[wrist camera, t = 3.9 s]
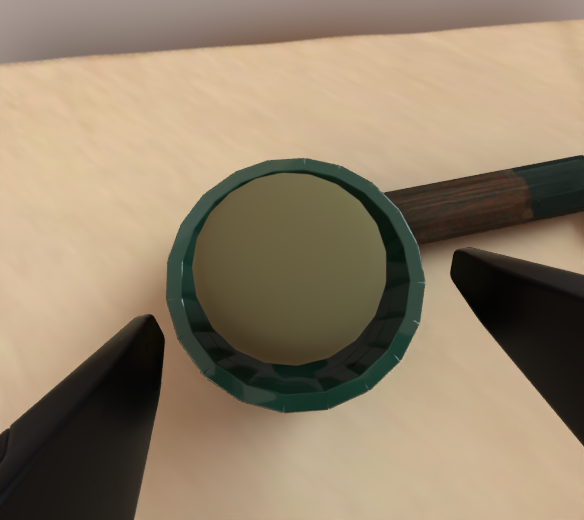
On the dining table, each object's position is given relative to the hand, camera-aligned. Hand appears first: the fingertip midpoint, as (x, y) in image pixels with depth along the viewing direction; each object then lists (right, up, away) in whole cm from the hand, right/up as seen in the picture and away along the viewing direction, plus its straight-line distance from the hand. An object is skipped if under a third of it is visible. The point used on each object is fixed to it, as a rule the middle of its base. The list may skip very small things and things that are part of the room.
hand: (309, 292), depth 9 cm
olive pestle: (0, -2, +9) cm, 9 cm away
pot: (0, -1, +9) cm, 9 cm away
